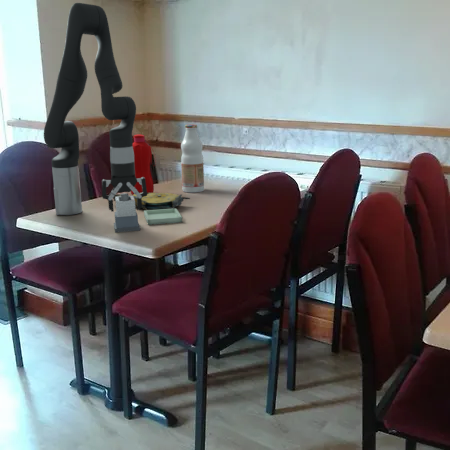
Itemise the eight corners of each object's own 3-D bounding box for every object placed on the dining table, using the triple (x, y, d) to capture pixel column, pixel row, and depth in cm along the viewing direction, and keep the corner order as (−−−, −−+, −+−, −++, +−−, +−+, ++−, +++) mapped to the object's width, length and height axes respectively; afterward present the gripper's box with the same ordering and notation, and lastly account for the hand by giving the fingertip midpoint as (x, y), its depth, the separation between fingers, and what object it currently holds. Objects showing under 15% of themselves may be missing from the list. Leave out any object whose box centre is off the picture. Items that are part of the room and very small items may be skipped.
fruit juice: (184, 193, 241) (181, 126, 233) (180, 189, 250) (178, 124, 242) (206, 192, 243) (204, 125, 235) (202, 187, 252) (200, 123, 244)
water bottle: (156, 196, 236) (152, 135, 230) (129, 196, 236) (125, 135, 230) (158, 191, 245) (156, 133, 238) (133, 192, 245) (129, 133, 239)
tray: (148, 224, 192) (147, 219, 192) (144, 215, 205) (143, 210, 204) (182, 222, 195) (182, 217, 194) (176, 213, 207) (176, 208, 207)
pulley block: (122, 184, 228) (190, 189, 216) (124, 198, 230) (191, 204, 218) (102, 195, 216) (173, 201, 204) (104, 210, 218) (174, 216, 206)
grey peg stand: (115, 232, 184) (112, 197, 181) (113, 226, 191) (111, 192, 188) (140, 230, 185) (138, 195, 182) (138, 224, 193) (135, 190, 190)
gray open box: (117, 217, 183) (116, 201, 181) (116, 211, 190) (115, 196, 189) (135, 215, 184) (134, 200, 183) (133, 210, 191) (132, 195, 190)
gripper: (99, 163, 177) (103, 214, 182) (146, 161, 181) (148, 211, 185) (99, 160, 185) (103, 209, 189) (143, 158, 188) (146, 206, 192)
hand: (125, 210), depth 187 cm, fingers open, 8 cm apart
